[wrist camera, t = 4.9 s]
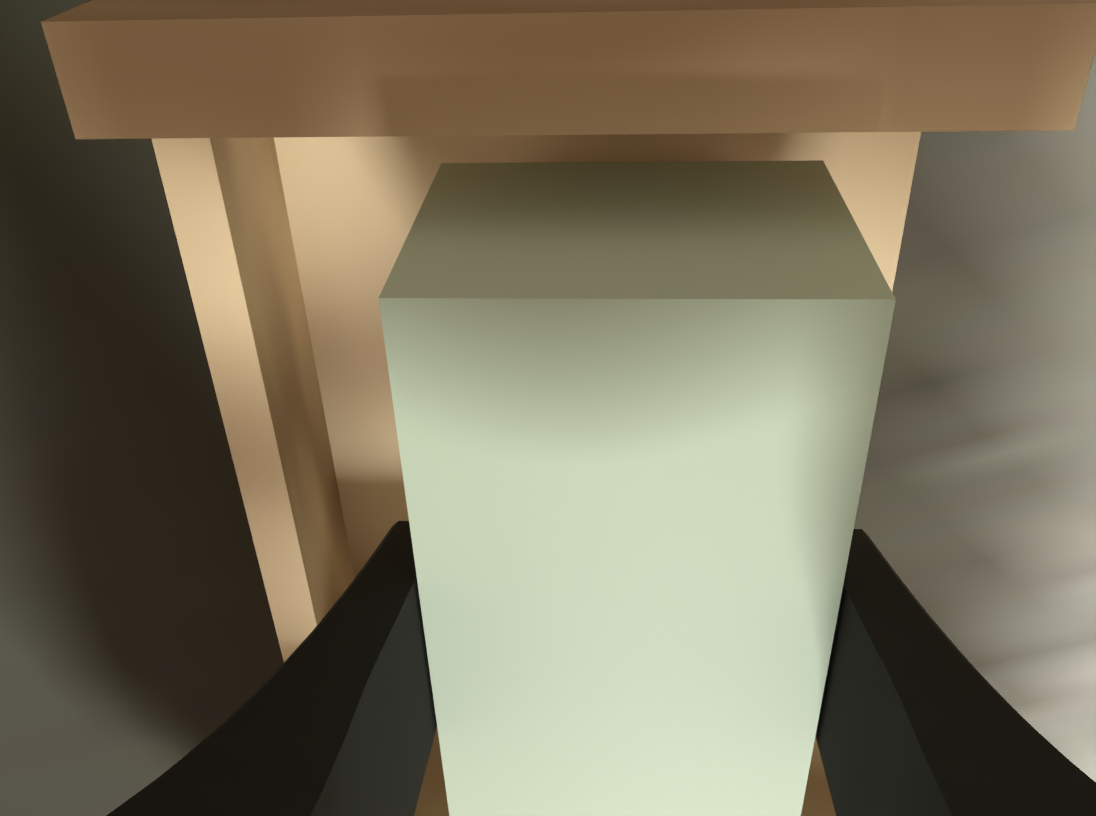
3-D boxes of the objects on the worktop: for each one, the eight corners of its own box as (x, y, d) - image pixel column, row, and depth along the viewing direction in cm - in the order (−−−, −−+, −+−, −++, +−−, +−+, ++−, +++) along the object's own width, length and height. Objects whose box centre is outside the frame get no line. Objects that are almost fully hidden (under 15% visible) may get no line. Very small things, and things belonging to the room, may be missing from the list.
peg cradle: (816, 665, 22) (867, 903, 17) (343, 652, 23) (272, 876, 18) (945, -74, 14) (1106, 2, 9) (199, -57, 14) (3, 22, 10)
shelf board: (756, 687, 18) (786, 894, 15) (488, 679, 18) (458, 880, 15) (823, 160, 13) (895, 299, 9) (441, 162, 13) (377, 297, 10)
